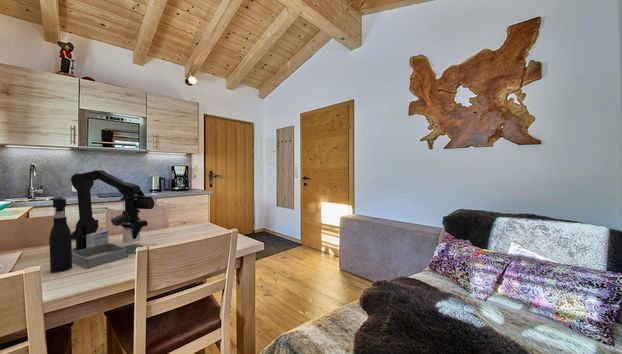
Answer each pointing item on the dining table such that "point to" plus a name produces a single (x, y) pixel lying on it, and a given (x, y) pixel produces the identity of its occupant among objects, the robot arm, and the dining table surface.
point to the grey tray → (116, 254)
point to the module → (129, 236)
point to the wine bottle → (60, 240)
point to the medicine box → (97, 238)
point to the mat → (132, 247)
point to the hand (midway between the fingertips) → (131, 238)
